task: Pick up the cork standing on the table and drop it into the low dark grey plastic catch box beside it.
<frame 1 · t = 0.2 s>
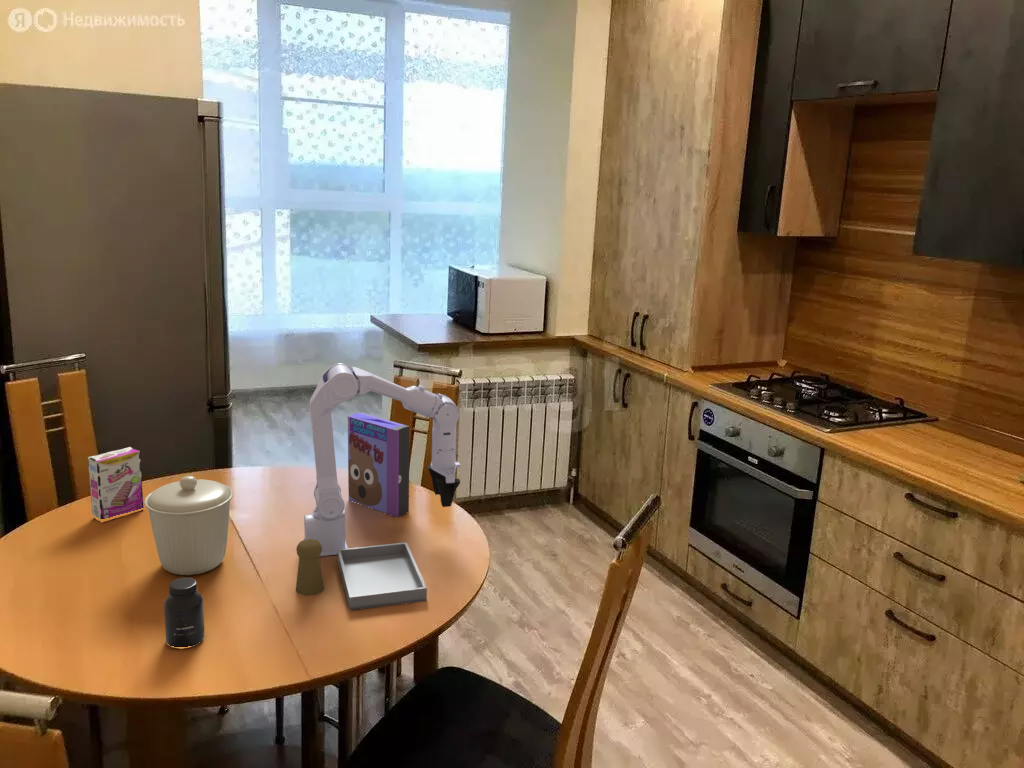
hand: (442, 499, 197), 10 cm above the table, tool pointing down, fingers open, 7 cm apart
cereal box: (378, 506, 217), on the table
catch box: (380, 580, 178), on the table
canister: (193, 565, 182), on the table
supplement bottle: (186, 641, 153), on the table
candy bar box: (119, 515, 205), on the table
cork: (310, 589, 174), on the table
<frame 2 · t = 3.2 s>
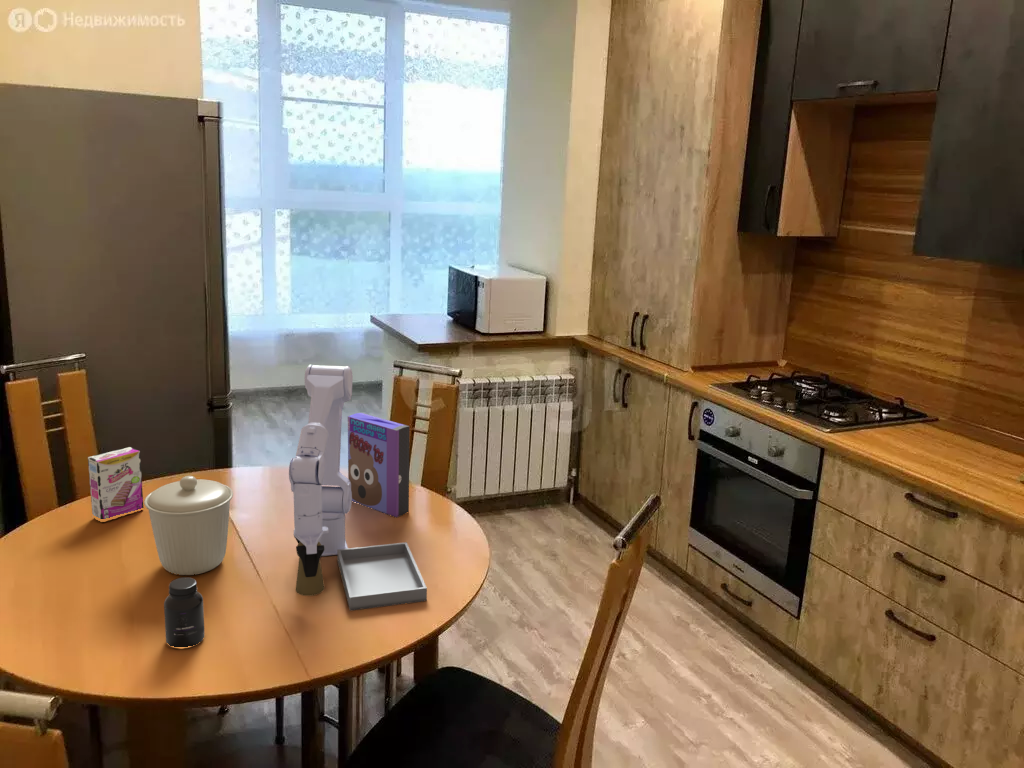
hand: (309, 569, 172), 4 cm above the table, tool pointing down, fingers closed on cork, 5 cm apart
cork: (310, 589, 174), on the table, touching gripper
everything else where it was.
when the fingers open (5 cm above the table, at t = 8.2 s): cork stays where it is, resting on catch box.
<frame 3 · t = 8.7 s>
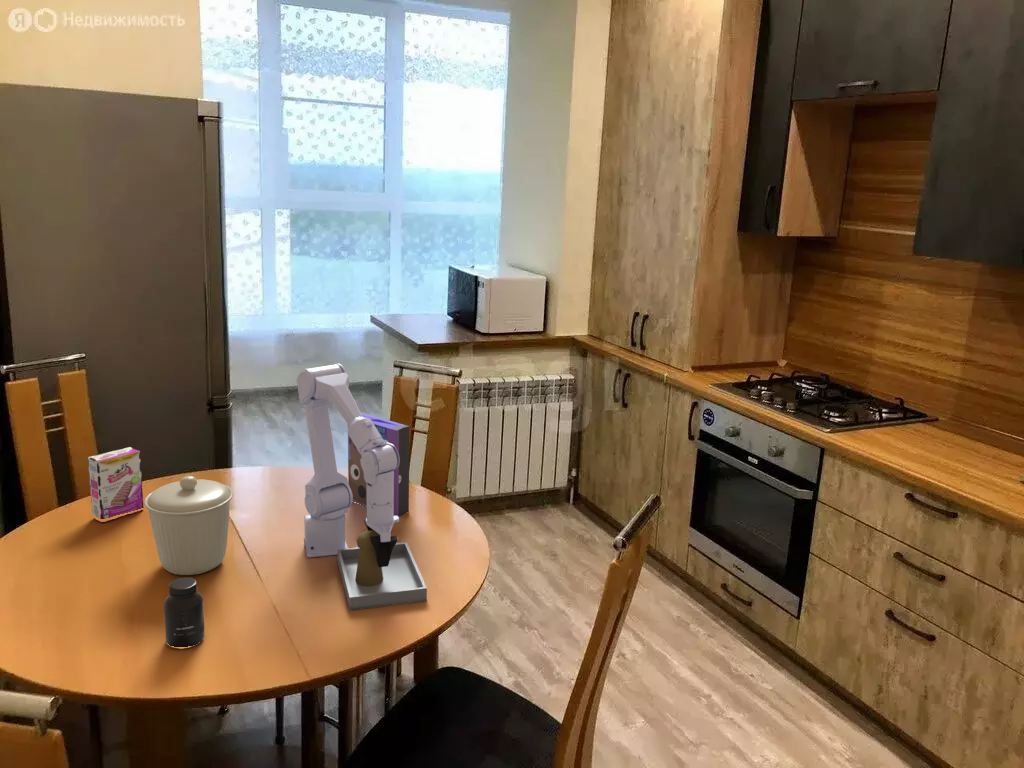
hand: (380, 557, 177), 5 cm above the table, tool pointing down, fingers open, 7 cm apart
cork: (369, 580, 177), resting on catch box
everything else where it was.
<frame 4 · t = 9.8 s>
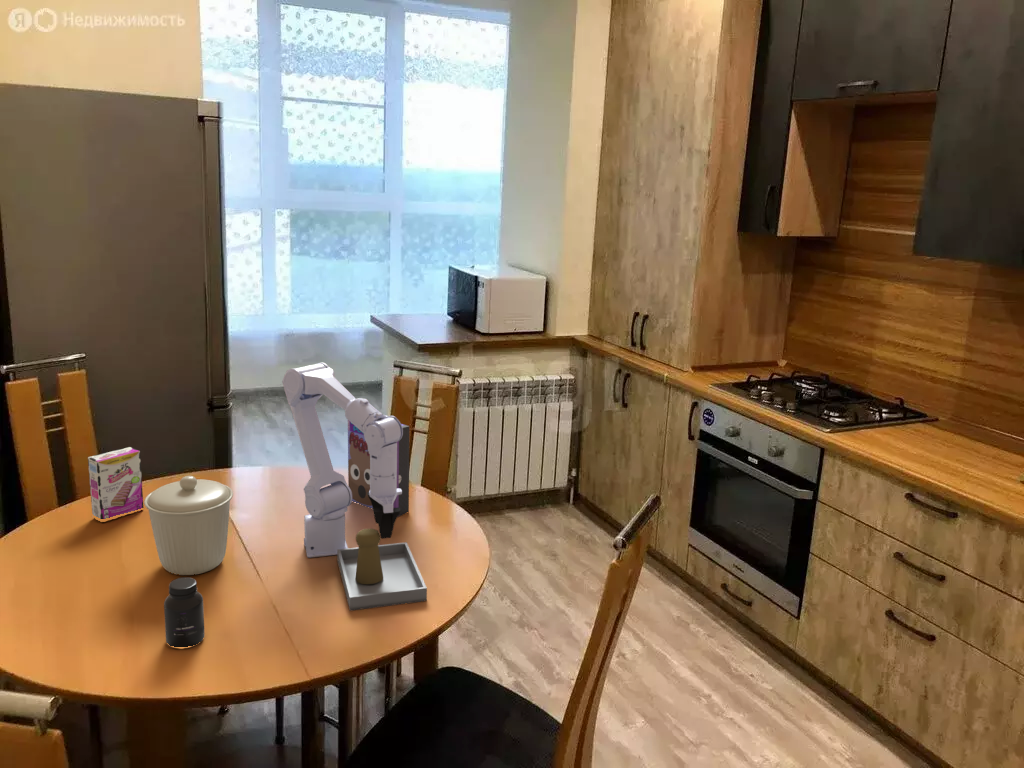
hand: (383, 530, 179), 10 cm above the table, tool pointing down, fingers open, 7 cm apart
nothing on the table moved.
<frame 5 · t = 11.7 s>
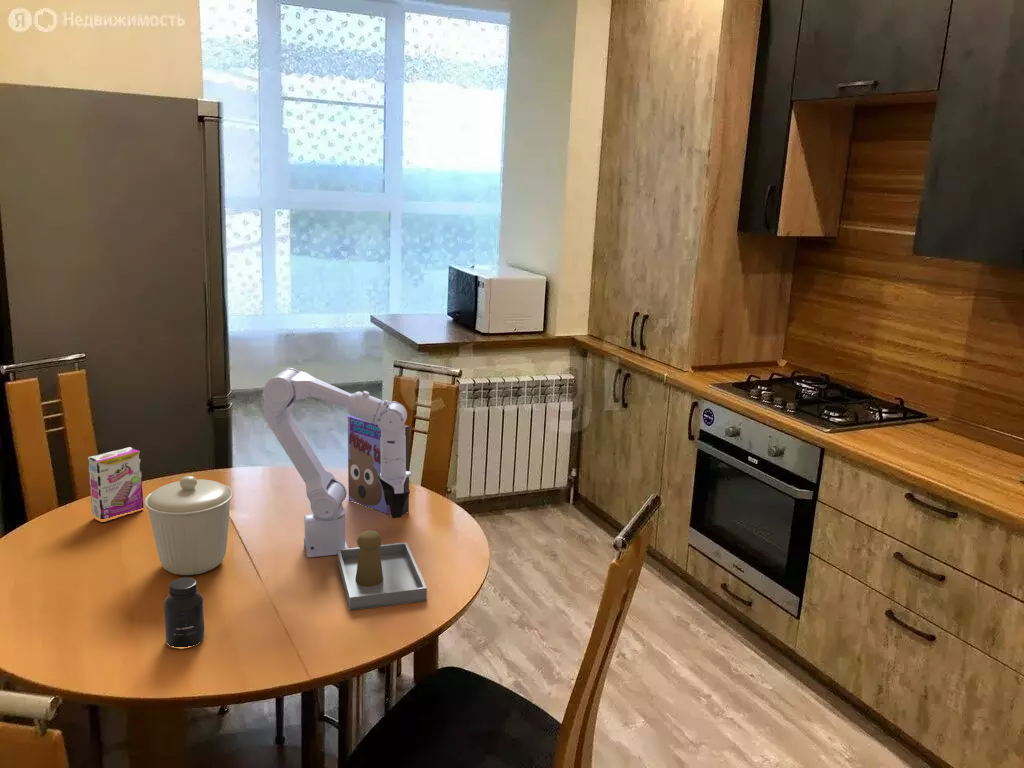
hand: (393, 510, 189), 10 cm above the table, tool pointing down, fingers open, 7 cm apart
nothing on the table moved.
at the end: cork inside the target area on the catch box (2.4 cm from its centre), point 0.4 cm above the catch box's base; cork touching catch box; the gripper is holding nothing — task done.
